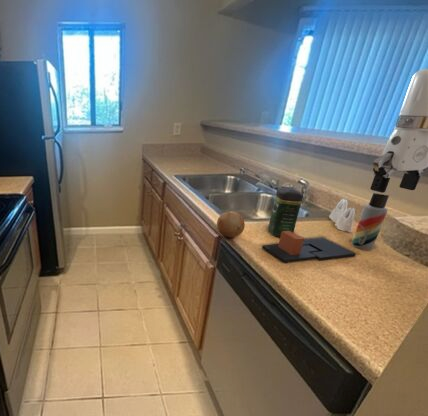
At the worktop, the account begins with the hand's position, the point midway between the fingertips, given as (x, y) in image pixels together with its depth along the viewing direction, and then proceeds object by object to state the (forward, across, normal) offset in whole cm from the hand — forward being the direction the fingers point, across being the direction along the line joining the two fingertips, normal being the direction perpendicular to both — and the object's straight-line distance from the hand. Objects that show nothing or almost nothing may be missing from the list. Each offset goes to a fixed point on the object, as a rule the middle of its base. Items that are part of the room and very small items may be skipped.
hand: (392, 189), depth 74 cm
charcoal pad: (+26, +1, +14) cm, 30 cm away
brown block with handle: (+26, -10, +14) cm, 32 cm away
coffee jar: (+26, -3, +28) cm, 39 cm away
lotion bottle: (+26, +17, +13) cm, 34 cm away
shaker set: (+26, +26, +29) cm, 47 cm away
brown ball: (+26, -24, +30) cm, 47 cm away
